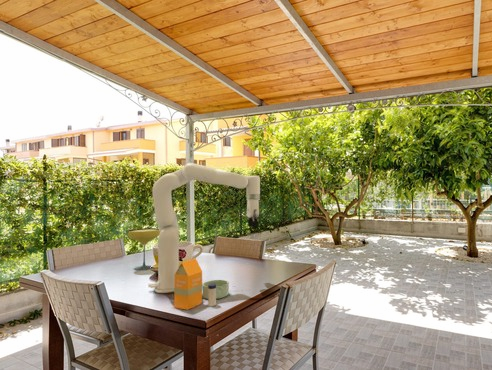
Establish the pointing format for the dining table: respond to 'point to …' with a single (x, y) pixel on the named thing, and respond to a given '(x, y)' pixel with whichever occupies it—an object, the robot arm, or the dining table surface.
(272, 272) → the dining table surface
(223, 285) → the bowl
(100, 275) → the dining table surface
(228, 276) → the dining table surface
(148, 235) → the cocktail glass
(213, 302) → the vial
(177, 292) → the orange juice
